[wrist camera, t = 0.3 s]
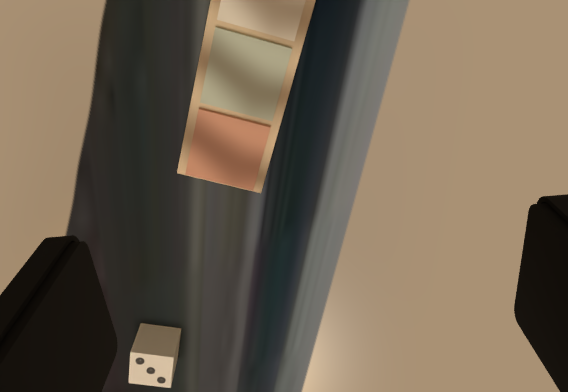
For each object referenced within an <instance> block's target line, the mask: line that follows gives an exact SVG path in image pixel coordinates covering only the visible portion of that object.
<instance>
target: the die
mask: <svg viewBox="0 0 568 392" xmlns="http://www.w3.org/2000/svg"><path fill="white" fill-rule="evenodd" d="M180 334H181V328H174V327H166V326H159V325H151V324H143V323H141V324H140V327H139V330H138V332H137V335H136V338H135V341H134V344H133V346H132V349H131V352H130V368H129V383H134V384H142V385H151V386H159V387H167V388H171V384H172V380H173V375H174V371H175V367H176V363H177V359H178V351H179V343H180Z"/></svg>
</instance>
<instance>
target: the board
mask: <svg viewBox="0 0 568 392" xmlns="http://www.w3.org/2000/svg"><path fill="white" fill-rule="evenodd" d="M315 1H316V0H211V2H210V7H209V12H208V17H207V22H206V27H205V33H204V38H203V43H202V48H201V53H200V58H199V63H198V68H197V73H196V79H195V84H194V89H193V94H192V99H191V104H190V109H189V114H188V119H187V124H186V130H185V135H184V140H183V145H182V150H181V155H180V160H179V165H178V170H177V173H179V174H183V175H187V176H192V177H196V178H200V179H204V180H208V181H213V182H217V183H221V184H225V185H229V186H233V187H238V188H242V189H246V190H250V191H254V192H258V193H261V191H262V187H263V184H264V180H265V177H266V173H267V170H268V166H269V163H270V159H271V156H272V152H273V148H274V145H275V141H276V138H277V134H278V131H279V127H280V124H281V120H282V117H283V113H284V110H285V106H286V103H287V99H288V96H289V92H290V89H291V85H292V82H293V78H294V75H295V71H296V68H297V64H298V60H299V57H300V53H301V50H302V46H303V43H304V39H305V36H306V32H307V29H308V25H309V22H310V18H311V15H312V11H313V8H314V4H315Z"/></svg>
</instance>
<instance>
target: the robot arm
mask: <svg viewBox="0 0 568 392" xmlns="http://www.w3.org/2000/svg"><path fill="white" fill-rule="evenodd" d="M514 311H515V317H516V320H517V323H518V325H519V326H520V328H521V329H522V331H523V333H524V334H525V336H526V338H527V339H528V340H529V342H530V344H531V345H532V347H533V349H534V350H535V352H536V354H537V355H538V357H539V358H540V360H541V362H542V363H543V365H544V366H545V368H546V370H547V371H548V373H549V374H550V376H551V377H552V379H553V381H554V382H555V384H556V386H557V387H558V389H559V390H560V392H568V195H557V196H543V197H541V198H539V200H538V202H537V204H533V205H531V206H530V208H529V212H528V219H527V226H526V232H525V239H524V245H523V252H522V259H521V266H520V272H519V279H518V285H517V292H516V299H515V306H514ZM116 352H117V337H116V334H115V330H114V327H113V324H112V321H111V318H110V315H109V311H108V308H107V305H106V302H105V299H104V296H103V292H102V289H101V286H100V283H99V280H98V276H97V273H96V270H95V267H94V264H93V261H92V257H91V254H90V251H89V248H88V246H87V244H86V243H85V242H83V241H82V242H79V240H78V238H77V237H75V236H62V237H50V238H46V239H44V240H43V242H42V243H41V244H40V245H39V246H38V248H37V249H36V250H35V252H34V253H33V254H32V255H31V257H30V258H29V259H28V261H27V262H26V263H25V265H24V266H23V267H22V268H21V269H20V271H19V272H18V273H17V275H16V276H15V277H14V278H13V280H12V281H11V282H10V283H9V285H8V286H7V287H6V289H5V290H4V291H3V292H2V294H1V295H0V392H101V391H102V389H103V386H104V384H105V381H106V379H107V376H108V374H109V371H110V368H111V366H112V363H113V361H114V358H115V356H116Z"/></svg>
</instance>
